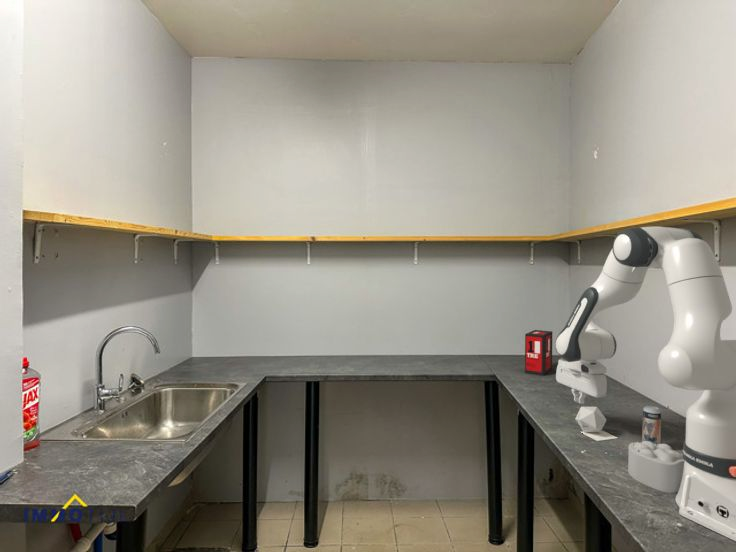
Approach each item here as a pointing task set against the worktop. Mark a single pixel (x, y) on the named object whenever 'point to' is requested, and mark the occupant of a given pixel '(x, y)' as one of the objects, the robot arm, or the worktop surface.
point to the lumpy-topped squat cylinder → (656, 466)
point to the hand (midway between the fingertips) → (579, 402)
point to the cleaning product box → (538, 352)
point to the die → (590, 419)
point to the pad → (600, 436)
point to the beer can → (651, 424)
